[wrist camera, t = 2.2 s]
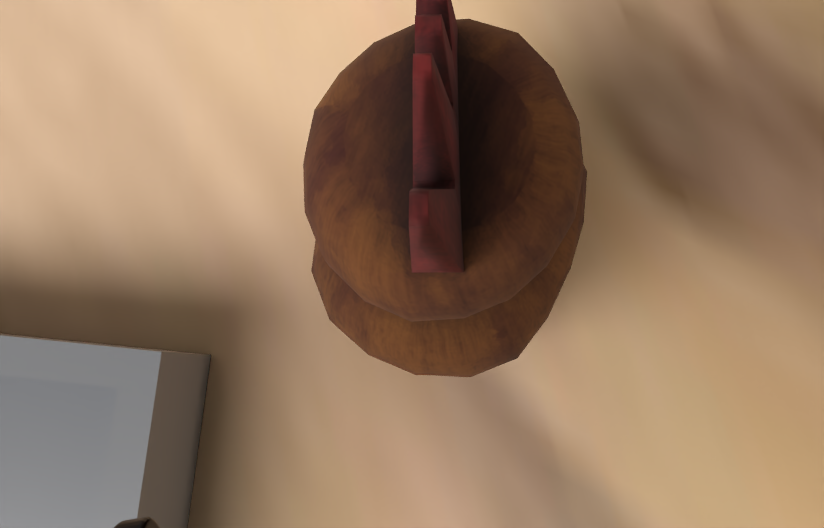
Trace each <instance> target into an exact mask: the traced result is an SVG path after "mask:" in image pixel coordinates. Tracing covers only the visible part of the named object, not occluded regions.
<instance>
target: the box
mask: <svg viewBox="0 0 824 528" xmlns="http://www.w3.org/2000/svg"><path fill="white" fill-rule="evenodd" d="M210 359H211V355H207V354H197V353H187V352H178V351H168V350H158V349H148V348H138V347H129V346H119V345H109V344H99V343H89V342H79V341H70V340H60V339H50V338H40V337H30V336H20V335H11V334H1V333H0V528H114V527H115V526H116V525H117V524H118V523H120V522H121V521H124V520H129V519H135V518H142V517H150V518H152V519H154V520H155V521H156V522H157V524H158V525H159V527H160V528H187V526H188V518H189V511H190V504H191V497H192V489H193V482H194V475H195V468H196V460H197V453H198V446H199V439H200V431H201V424H202V417H203V410H204V403H205V395H206V388H207V381H208V374H209V366H210Z"/></svg>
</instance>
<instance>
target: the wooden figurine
mask: <svg viewBox="0 0 824 528" xmlns="http://www.w3.org/2000/svg"><path fill="white" fill-rule="evenodd" d="M303 168H304V202H305V213H306V216H307V218H308V221H309V223H310V226H311V228H312V231H313V234H314V236H315V239H316V242H315V249H314V256H313V264H312V274H313V276H314V279H315V282H316V284H317V287H318V290H319V292H320V295H321V298H322V300H323V303H324V306H325V308H326V311H327V314H328V316H329V319H330V320H331V321H332V322H333V323H334V324H335V325H336V326H337V327H338V328H339V329H340V330H341V331H342V332H344V333H345V334H346V335H347V336H348V337H349V338H350V339H351V340H353V341H354V342H355V343H356V344H357V345H358V346H359V347H360V348H362V349H363V350H364V351H365V352H366V353H367V354H368V355H370V356H373V357H375V358H377V359H380V360H382V361H384V362H387V363H389V364H392V365H394V366H396V367H399V368H401V369H403V370H406V371H408V372H410V373H413V374H415V375H440V376H458V377H472V376H474V375H477V374H479V373H481V372H484V371H486V370H489V369H491V368H494V367H496V366H499V365H501V364H504V363H506V362H509V361H511V360H514V359H516V358H518V357H519V355H520V354H521V353H522V351H523V350H524V349H525V347H526V346H527V344H528V343H529V342H530V340H531V339H532V338H533V336H534V335H535V334H536V332H537V331H538V330H539V328H540V327H541V326H542V324H543V323H544V322H545V320H546V319H547V318H548V315H549V313H550V311H551V309H552V307H553V305H554V302H555V300H556V298H557V296H558V294H559V292H560V289H561V287H562V285H563V283H564V281H565V278H566V276H567V274H568V272H569V270H570V268H571V265H572V261H573V257H574V254H575V250H576V247H577V243H578V240H579V236H580V232H581V229H582V225H583V222H584V208H585V193H586V178H587V171H586V169H585V167H584V165H583V157H582V147H581V137H580V128H579V122H578V119H577V117H576V115H575V113H574V111H573V109H572V106H571V104H570V102H569V100H568V98H567V96H566V94H565V92H564V90H563V88H562V86H561V83H560V81H559V79H558V77H557V75H556V73H555V71H554V69H553V68H552V67H551V66H550V65H549V64H548V63H547V62H546V61H545V60H544V59H543V58H542V57H541V56H540V55H539V54H538V53H537V52H536V51H535V50H534V49H533V48H532V47H531V46H530V45H529V44H528V43H527V42H526V41H525V40H524V39H523V38H522V37H521V36H520V35H519V34H518V33H516V32H513V31H509V30H506V29H502V28H499V27H495V26H492V25H488V24H485V23H481V22H478V21H474V20H471V19H460V20H456V18H455V14H454V10H453V6H452V2H451V0H416V15H415V24H414V25H412V26H409V27H407V28H405V29H403V30H401V31H398V32H396V33H394V34H392V35H390V36H388V37H385V38H383V39H381V40H379V41H377V42H374V43H373V44H372V45H371V46H370V47H369V48H367V49H366V50H365V51H364V52H363V53H362V54H361V55H360V56H358V57H357V58H356V59H355V60H354V61H353V62H352V63H351V64H349V65H348V66H347V67H346V68H345V69H344V70H343V71H342V72H340V73H339V75H338V76H337V78H336V79H335V81H334V82H333V84H332V85H331V87H330V88H329V90H328V91H327V93H326V94H325V95H324V97H323V98H322V100H321V101H320V103H319V104H318V106H317V107H316V109H315V111H314V115H313V120H312V124H311V129H310V134H309V138H308V143H307V147H306V152H305V158H304V164H303Z"/></svg>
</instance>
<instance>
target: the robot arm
mask: <svg viewBox="0 0 824 528" xmlns="http://www.w3.org/2000/svg"><path fill="white" fill-rule="evenodd" d="M114 528H160V527H159V525H158V524H157V522H156V521H155V520H154V519H152V518H150V517H142V518H135V519H129V520H124V521H121V522H120V523H118V524H117V525H116V526H115V527H114Z"/></svg>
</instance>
